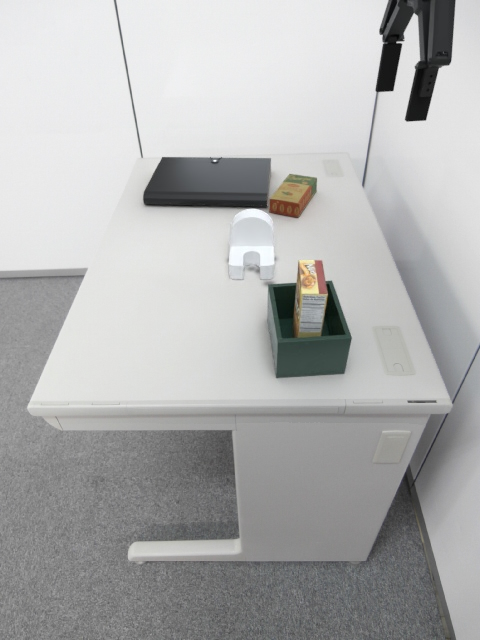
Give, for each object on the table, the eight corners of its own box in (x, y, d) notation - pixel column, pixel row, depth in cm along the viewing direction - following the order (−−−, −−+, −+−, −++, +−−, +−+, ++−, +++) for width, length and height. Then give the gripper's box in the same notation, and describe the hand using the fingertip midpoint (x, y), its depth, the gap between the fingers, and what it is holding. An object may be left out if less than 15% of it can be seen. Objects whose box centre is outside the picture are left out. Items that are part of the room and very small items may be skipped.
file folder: (271, 156, 130) (267, 196, 113) (270, 169, 133) (266, 210, 116) (162, 155, 133) (141, 194, 116) (164, 168, 136) (144, 208, 119)
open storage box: (344, 373, 74) (352, 337, 68) (276, 378, 74) (277, 342, 68) (327, 315, 85) (332, 280, 79) (267, 319, 85) (267, 284, 79)
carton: (268, 213, 114) (268, 197, 111) (288, 186, 125) (289, 172, 122) (299, 218, 112) (299, 203, 109) (316, 191, 122) (318, 176, 119)
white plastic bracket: (272, 234, 107) (273, 192, 99) (274, 279, 94) (275, 235, 86) (233, 234, 107) (231, 193, 100) (229, 279, 94) (226, 236, 87)
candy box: (291, 326, 82) (296, 259, 71) (314, 327, 82) (322, 258, 71) (294, 362, 75) (300, 293, 65) (319, 362, 75) (329, 293, 65)
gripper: (374, -89, 60) (351, 82, 74) (452, -91, 42) (402, 137, 56) (428, -92, 60) (395, 79, 75) (529, -94, 42) (460, 133, 56)
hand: (398, 104), depth 65 cm, fingers open, 13 cm apart
